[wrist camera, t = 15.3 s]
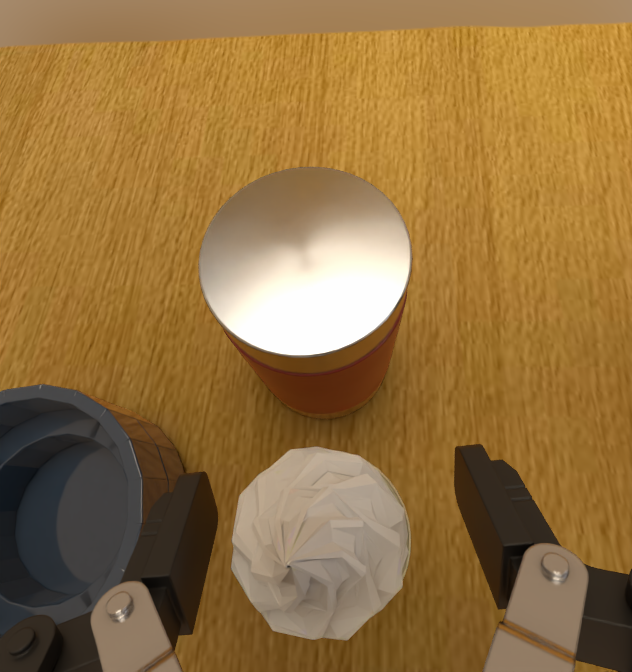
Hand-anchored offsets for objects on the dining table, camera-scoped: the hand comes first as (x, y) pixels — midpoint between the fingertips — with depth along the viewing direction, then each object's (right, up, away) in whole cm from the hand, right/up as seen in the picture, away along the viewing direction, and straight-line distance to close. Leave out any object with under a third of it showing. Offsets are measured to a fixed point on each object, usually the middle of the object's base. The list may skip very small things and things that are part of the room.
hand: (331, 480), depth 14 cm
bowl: (-12, -4, +8) cm, 15 cm away
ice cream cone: (+1, -4, +8) cm, 9 cm away
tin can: (0, +3, +10) cm, 11 cm away
